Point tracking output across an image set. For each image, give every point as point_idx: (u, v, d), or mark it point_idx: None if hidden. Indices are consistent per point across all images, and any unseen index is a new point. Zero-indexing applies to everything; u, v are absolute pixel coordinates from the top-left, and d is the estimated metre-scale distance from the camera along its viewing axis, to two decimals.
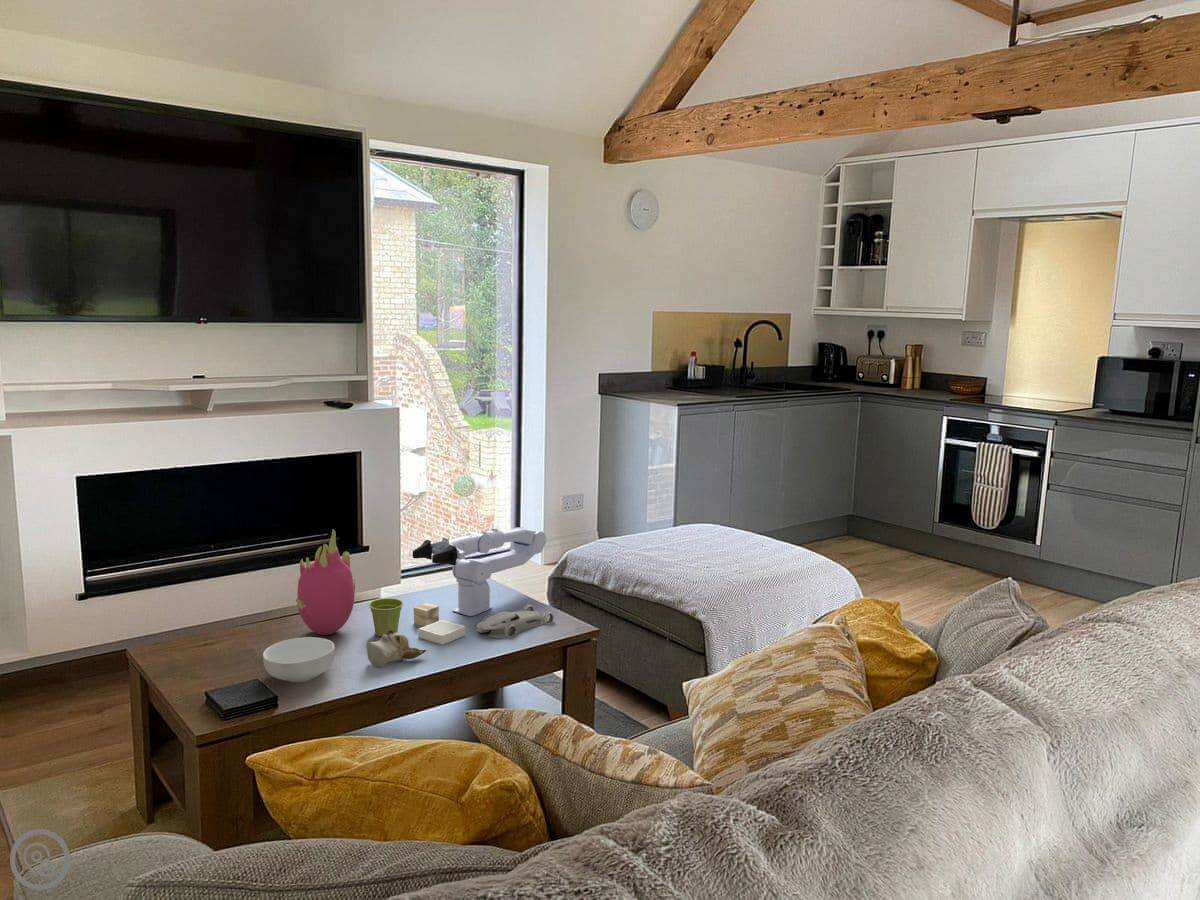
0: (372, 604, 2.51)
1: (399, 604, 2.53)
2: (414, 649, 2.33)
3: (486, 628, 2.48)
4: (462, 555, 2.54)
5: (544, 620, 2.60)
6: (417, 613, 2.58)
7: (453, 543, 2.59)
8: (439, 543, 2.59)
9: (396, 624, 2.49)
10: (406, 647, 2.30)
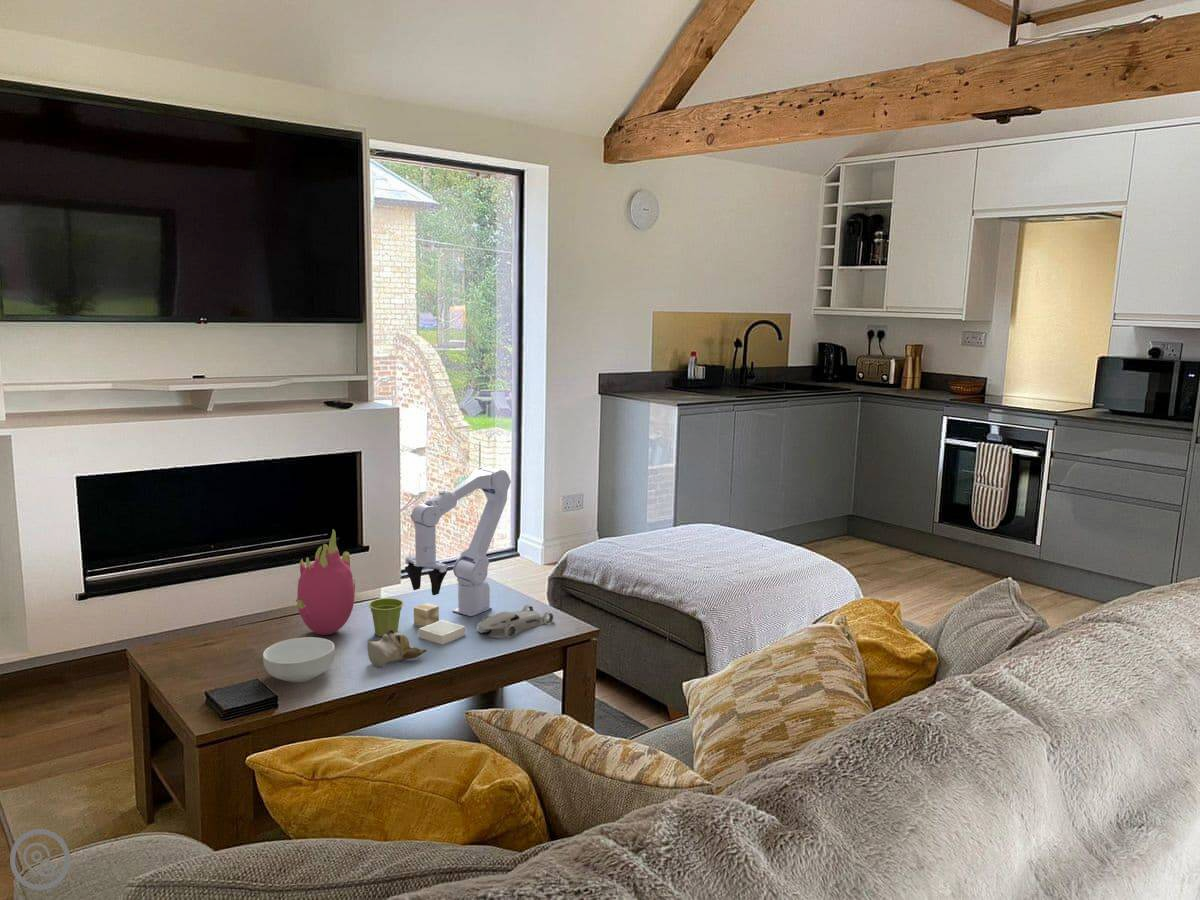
0: (372, 604, 2.51)
1: (399, 604, 2.53)
2: (415, 648, 2.33)
3: (486, 628, 2.48)
4: (444, 568, 2.53)
5: (544, 620, 2.61)
6: (417, 613, 2.58)
7: (424, 559, 2.54)
8: None
9: (396, 624, 2.49)
10: (407, 647, 2.31)
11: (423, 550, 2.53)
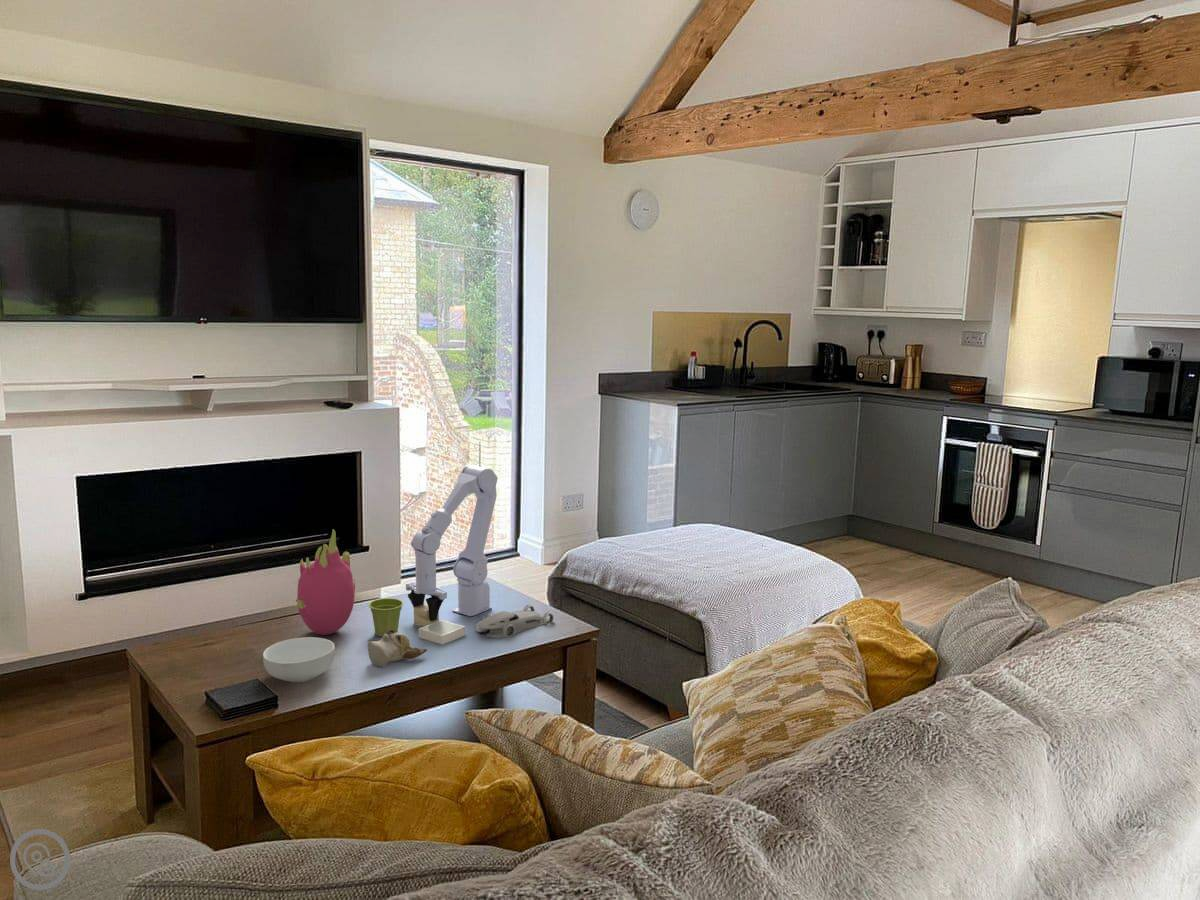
0: (372, 604, 2.51)
1: (399, 604, 2.53)
2: (415, 648, 2.33)
3: (484, 627, 2.49)
4: (444, 596, 2.54)
5: (543, 620, 2.60)
6: (417, 613, 2.58)
7: (424, 586, 2.55)
8: None
9: (396, 624, 2.49)
10: (407, 647, 2.31)
11: (423, 577, 2.55)
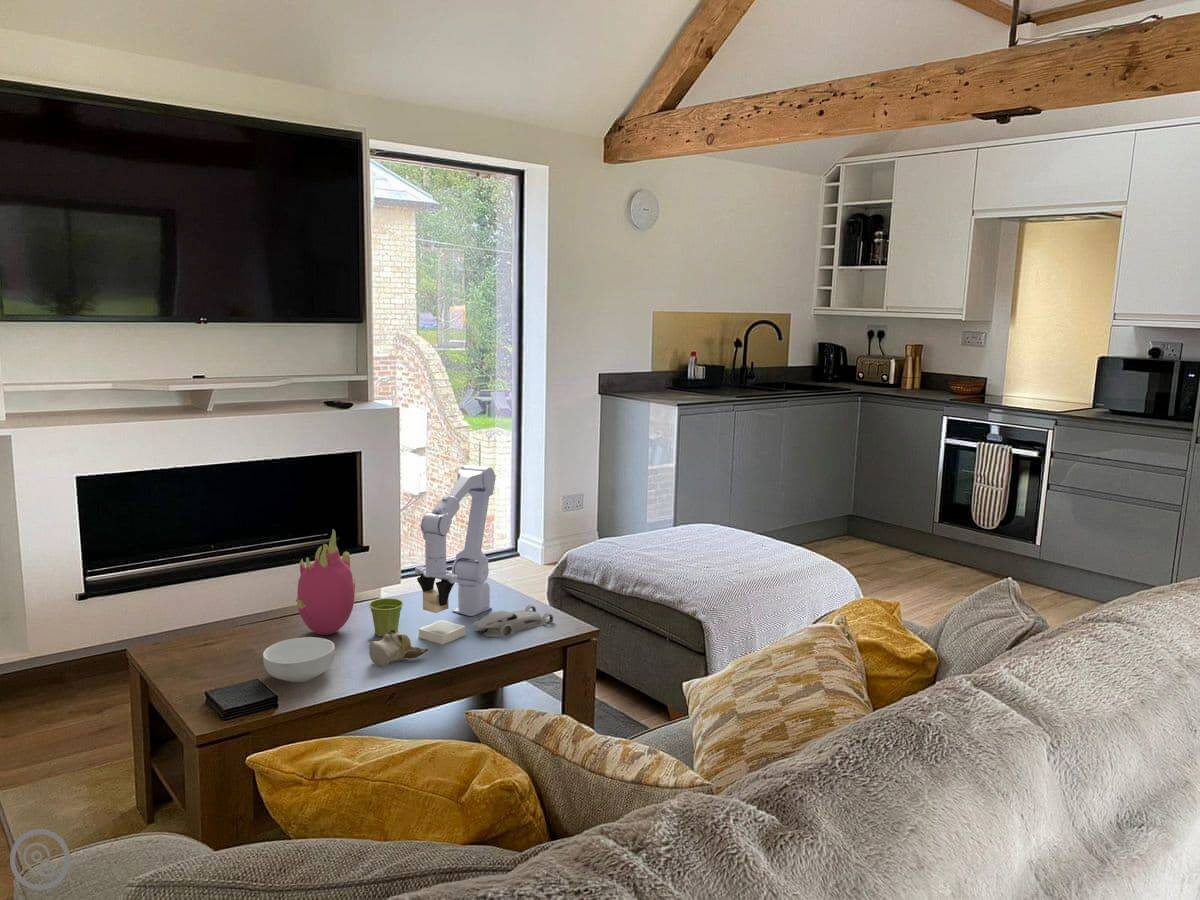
0: (372, 604, 2.51)
1: (399, 604, 2.53)
2: (416, 648, 2.34)
3: (481, 626, 2.49)
4: (454, 579, 2.46)
5: (543, 621, 2.60)
6: (426, 598, 2.50)
7: (434, 570, 2.47)
8: None
9: (396, 624, 2.49)
10: (408, 646, 2.31)
11: (433, 560, 2.47)
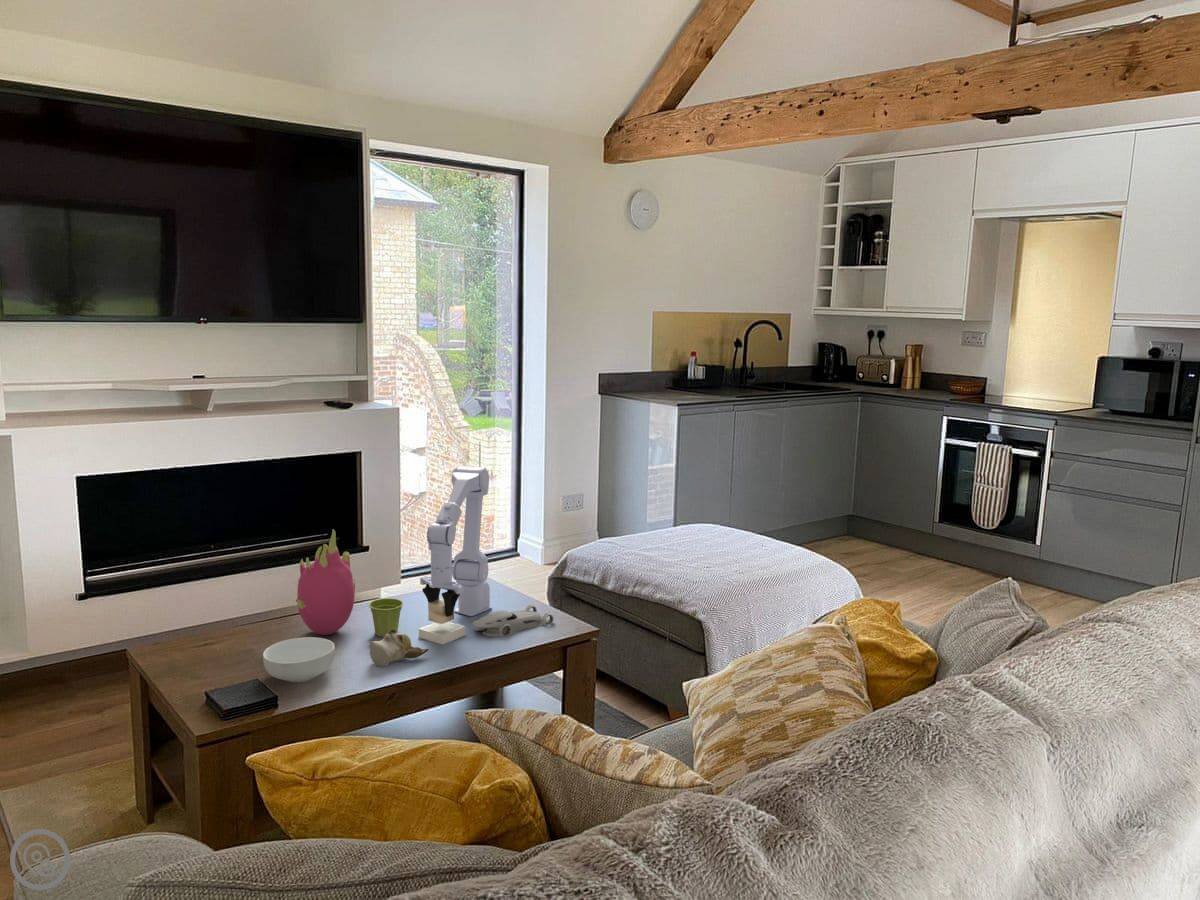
0: (372, 604, 2.51)
1: (399, 604, 2.53)
2: (417, 648, 2.34)
3: (480, 626, 2.50)
4: (461, 590, 2.43)
5: (543, 621, 2.60)
6: (432, 609, 2.47)
7: (440, 580, 2.44)
8: None
9: (396, 624, 2.49)
10: (409, 646, 2.31)
11: (439, 571, 2.44)
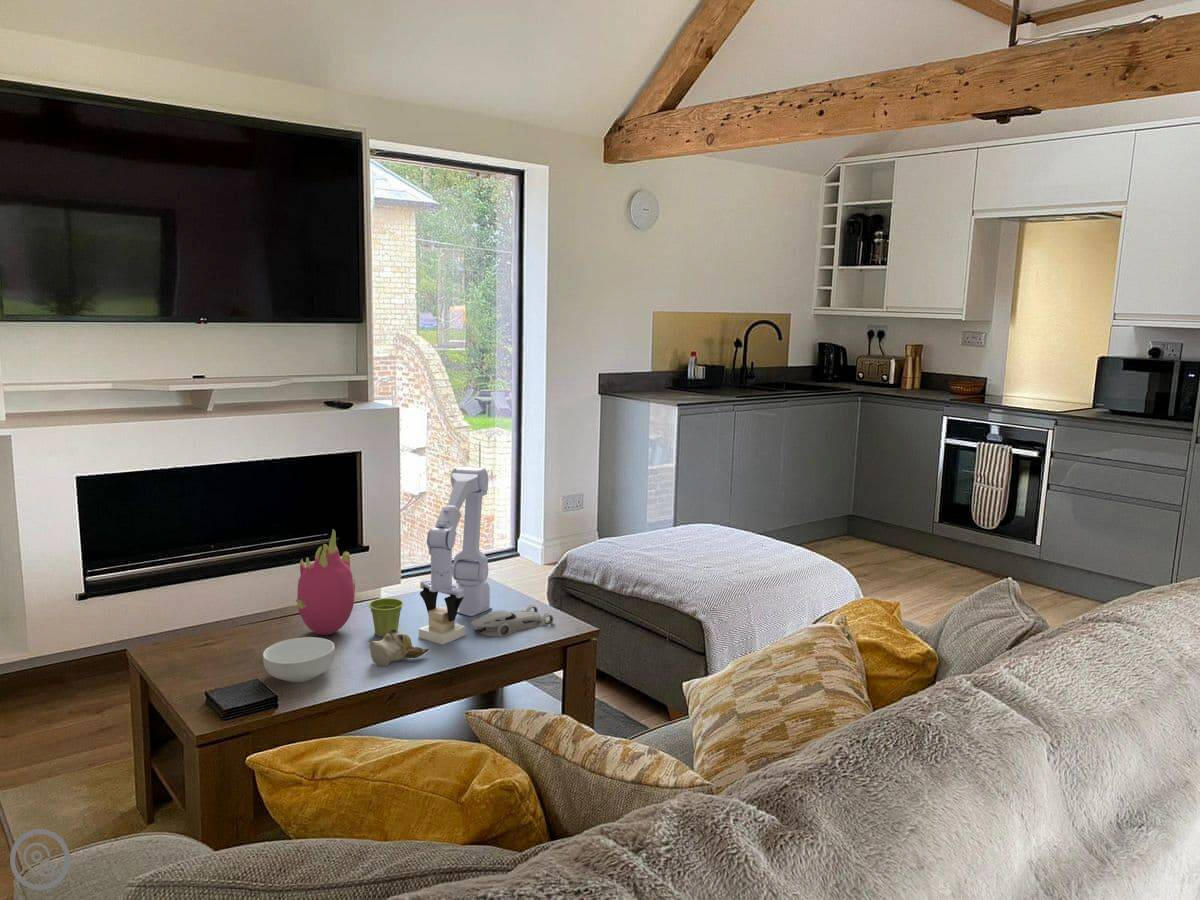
0: (372, 604, 2.51)
1: (399, 604, 2.53)
2: (417, 648, 2.34)
3: (478, 625, 2.50)
4: (461, 594, 2.43)
5: (542, 621, 2.59)
6: (432, 617, 2.47)
7: (440, 584, 2.44)
8: None
9: (396, 624, 2.49)
10: (409, 646, 2.31)
11: (439, 575, 2.44)
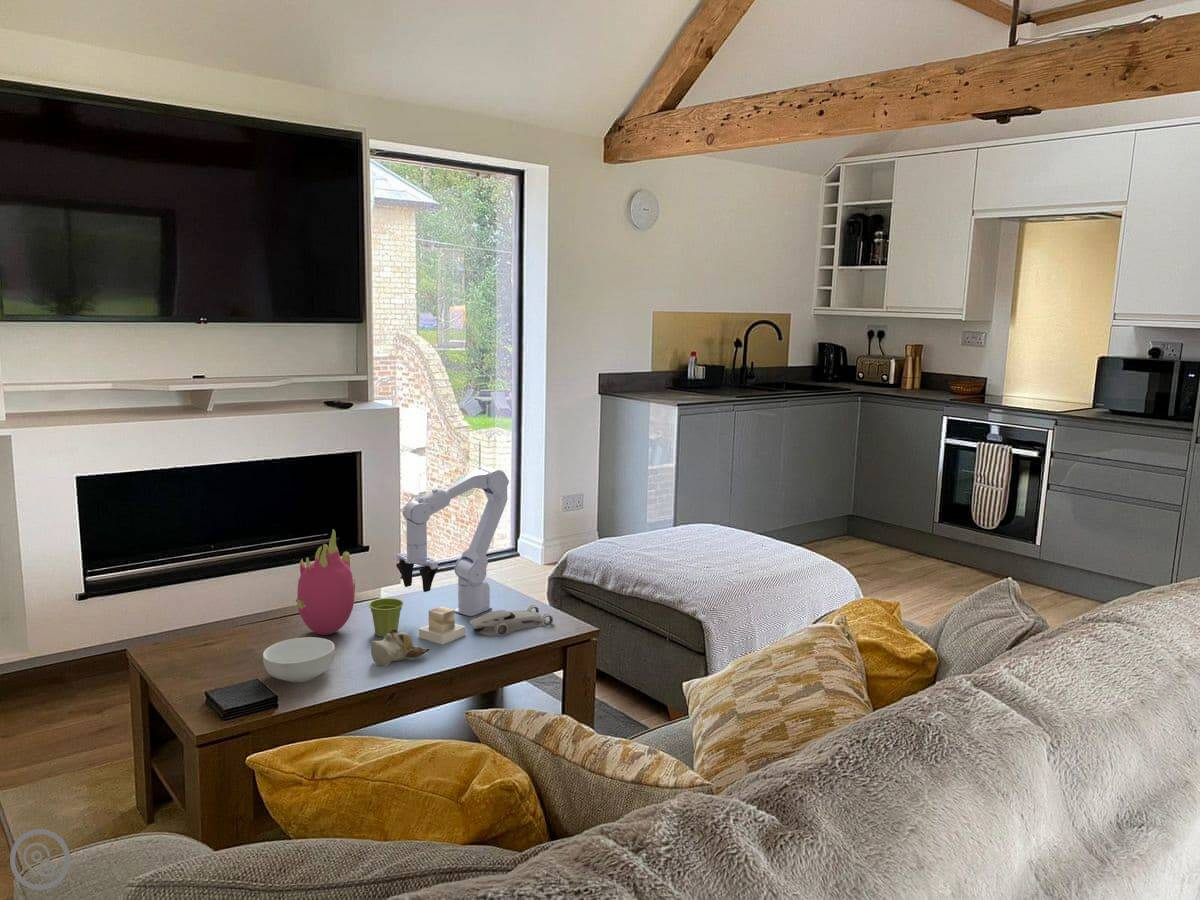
0: (372, 604, 2.51)
1: (399, 604, 2.53)
2: (418, 648, 2.34)
3: (476, 624, 2.51)
4: (435, 565, 2.54)
5: (542, 622, 2.59)
6: (432, 617, 2.47)
7: (415, 556, 2.55)
8: None
9: (396, 624, 2.49)
10: (410, 646, 2.31)
11: (414, 547, 2.55)
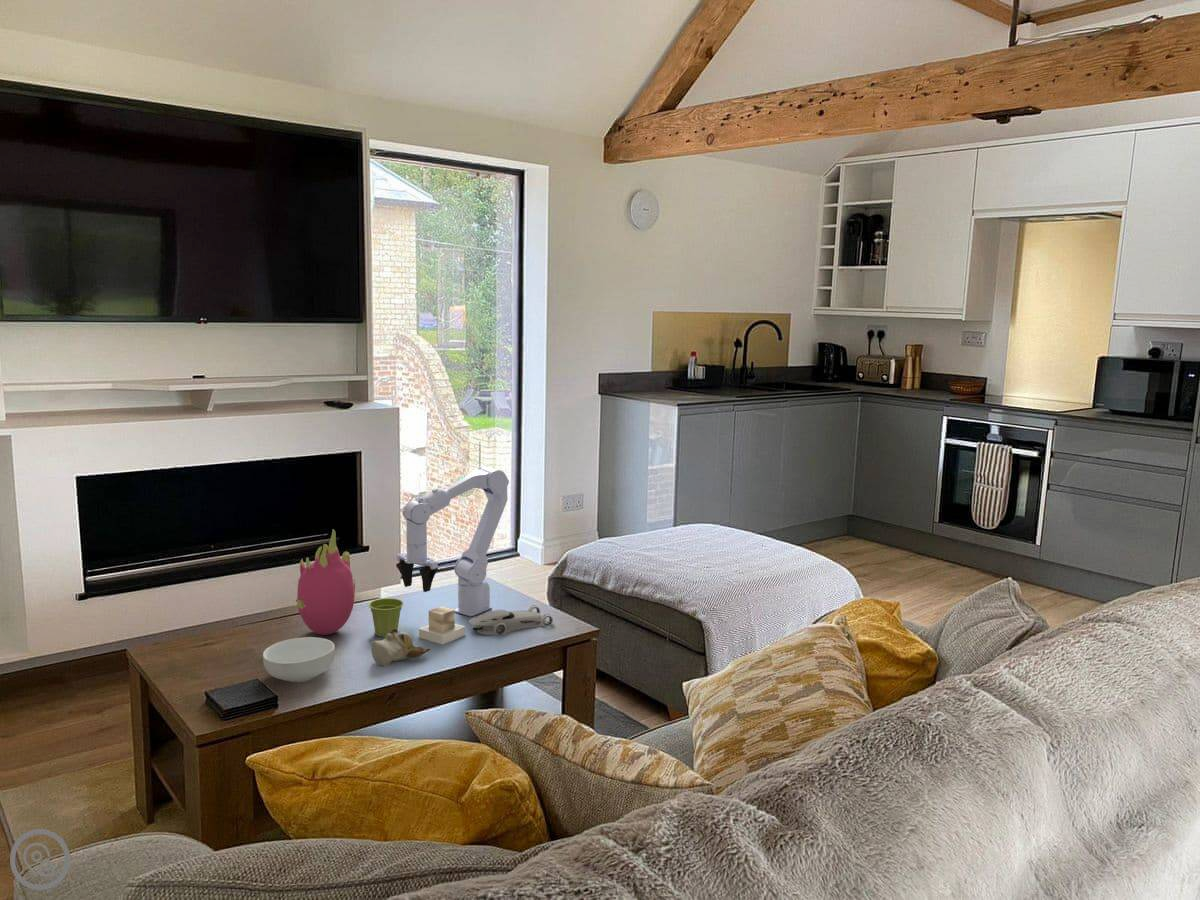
0: (372, 604, 2.51)
1: (399, 604, 2.53)
2: (418, 647, 2.34)
3: (475, 624, 2.51)
4: (435, 565, 2.54)
5: (541, 622, 2.59)
6: (432, 617, 2.47)
7: (415, 556, 2.55)
8: None
9: (396, 624, 2.49)
10: (410, 646, 2.31)
11: (414, 547, 2.55)
